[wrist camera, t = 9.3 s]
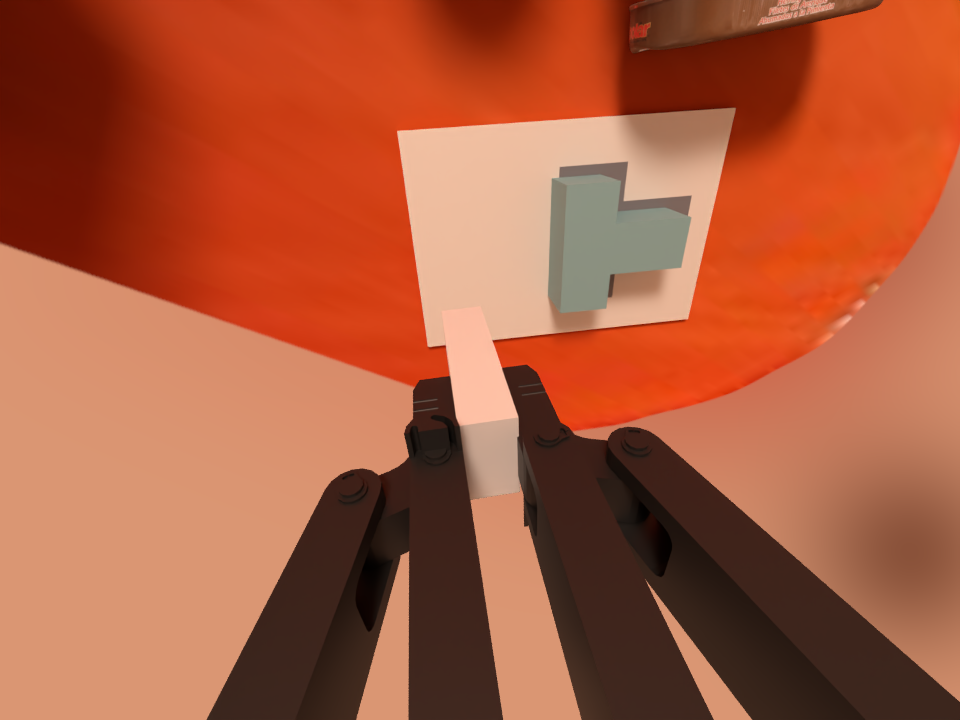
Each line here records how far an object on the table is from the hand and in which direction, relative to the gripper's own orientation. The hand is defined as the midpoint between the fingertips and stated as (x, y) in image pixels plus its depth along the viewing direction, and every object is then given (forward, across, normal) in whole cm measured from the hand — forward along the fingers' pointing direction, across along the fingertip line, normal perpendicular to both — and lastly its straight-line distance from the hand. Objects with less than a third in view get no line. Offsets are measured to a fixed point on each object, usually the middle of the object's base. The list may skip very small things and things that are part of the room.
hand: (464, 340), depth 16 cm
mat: (+21, +11, -3) cm, 23 cm away
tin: (+21, +21, +12) cm, 32 cm away
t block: (+20, +14, -3) cm, 25 cm away
